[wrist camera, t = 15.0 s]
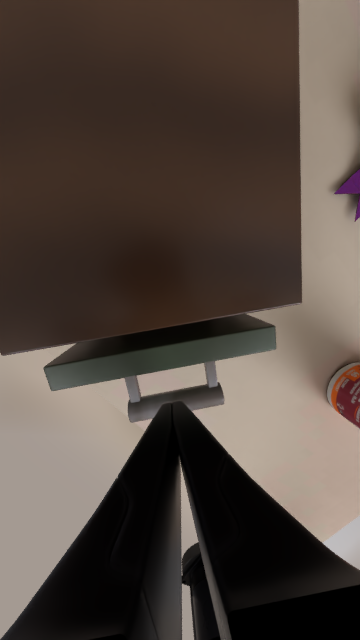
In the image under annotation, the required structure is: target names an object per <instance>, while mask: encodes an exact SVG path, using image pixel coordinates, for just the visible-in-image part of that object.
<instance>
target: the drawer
mask: <svg viewBox="0 0 360 640" xmlns="http://www.w3.org/2000/svg"><path fill="white" fill-rule="evenodd" d="M275 349H276V332H275V326H274V325H272V324H269V323H267V322H264V321H262V320H259V319H257V318H254V317H252V316H249V315H247V314H240V315H234V316H229V317H223V318H217V319H211V320H206V321H200V322H194V323H189V324H183V325H177V326H171V327H166V328H160V329H154V330H148V331H143V332H137V333H131V334H125V335H120V336H114V337H108V338H102V339H97V340H91V341H85V342H79V343H76V344H75V345H74V346H72V347H71V348H70V349H68V350H67V351H65V352H64V353H63V354H61V355H60V356H58V357H57V358H56V359H54V360H53V361H51V362H50V363H49V364H47V365H46V366H45V367H44V372H45V374H46V377H47V380H48V383H49V386H50V389H51V391H56V390H61V389H66V388H72V387H77V386H83V385H88V384H93V383H99V382H104V381H109V380H115V379H120V378H125V381H126V385H127V389H128V393H129V397H130V400H129V402H128V416H129V420H130V422H132V423H133V422H138V421H143V420H148V419H153V418H154V416H155V415H156V413H157V411H158V410H159V408H160V407H161V405H162V404H164V403H169V402H171V403H173V402H174V401H179V400H182V401H183V402H184V403H185V404H186V406H187V407H188V408H189V409H190V410H191V411H193V410H198V409H203V408H208V407H213V406H218V405H223V404H224V395H223V391H222V388H221V385H220V383H219V382H217V375H216V367H215V361H217V360H222V359H228V358H233V357H238V356H244V355H249V354H254V353H260V352H265V351H270V350H275ZM201 363H204V365H205V372H206V379H207V384H205V385H200V386H195V387H189V388H184V389H179V390H174V391H169V392H163V393H158V394H153V395H148V396H143V397H141V393H140V389H139V385H138V380H137V376H136V375H142V374H147V373H152V372H158V371H163V370H168V369H174V368H179V367H185V366H190V365H195V364H201Z"/></svg>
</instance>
